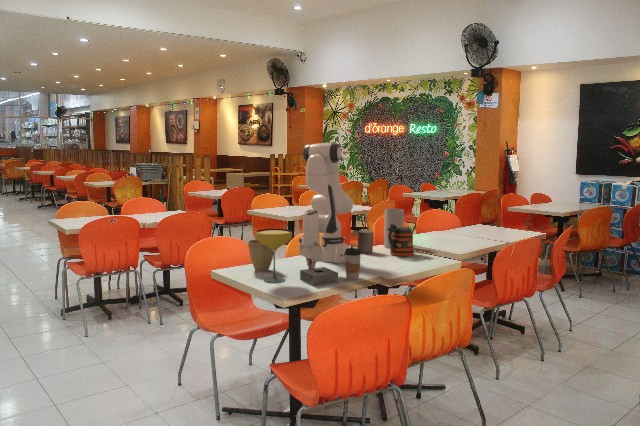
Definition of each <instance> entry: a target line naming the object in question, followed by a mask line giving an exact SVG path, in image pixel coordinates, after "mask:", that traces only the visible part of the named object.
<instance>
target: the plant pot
mask: <svg viewBox="0 0 640 426" xmlns="http://www.w3.org/2000/svg"><path fill="white" fill-rule="evenodd" d="M247 246H248V251H249V252H248V253H249V256H250V260H251V262H252V265H253V269H254V271H255V272H258V273H259V272H260V273H261V272H263V273H264V272H268V271H269V270H270V267H271V264H272V261H273V259H274V252H273V251H272V250H271V249H270V248H269V247H268V246H266V245H264V244H262V243H260V242H259V241H258V240H257V239H256V238H254V239H251V240H247Z"/></svg>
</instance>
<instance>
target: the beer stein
mask: <svg viewBox="0 0 640 426" xmlns="http://www.w3.org/2000/svg"><path fill="white" fill-rule="evenodd" d="M388 230H389V231H390V232H389V242H390V244H391V247H390V248H389V249H390V251H389V252H390V253H389V254H390V255H392V256H397V257H412V256H414V255H415V249H414V242H413V241H414V235H413V230H412V228H410V226H403V227H396V225H393V224H391V225H390V228H388ZM392 232H393V233H392ZM391 234H392V238H391Z"/></svg>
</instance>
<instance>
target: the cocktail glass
mask: <svg viewBox="0 0 640 426" xmlns="http://www.w3.org/2000/svg"><path fill="white" fill-rule="evenodd" d="M292 238H293V231H292V230H291V229H288V228H287V229H285V228H264V229H259V230H257V231H256V232H255V239H257V240H258V241H259V242H260V243H262V244H264V245H266V246H268V247H269V248H270V249H271V250H272V251H273V252H274V254H273V275H272V277H266V278H264V279H263V282H264V283H267V284H279V283H284V282H285V281H286V278H284V277H280V276H279V277H278V276H276V257H275V256H276V251H278V249H279V248H280V247H283V246H284V245H286V244H288V243H289V242H290V241H291V240H292Z"/></svg>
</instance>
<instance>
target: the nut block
mask: <svg viewBox="0 0 640 426" xmlns="http://www.w3.org/2000/svg"><path fill="white" fill-rule="evenodd" d="M299 274H300V275H299V280H300V281H301V282H304V283H306V284H308V285H310V286H311V287H317V286H318V287H319V286H325V285H332V284H338V283H339V272H337V271H335V270H332V269H330V268H327V267H325V266H324V267H323V266H321V267H315V268H313V269H308V268H305V269H299ZM337 282H338V283H337ZM331 283H332V284H331Z"/></svg>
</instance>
